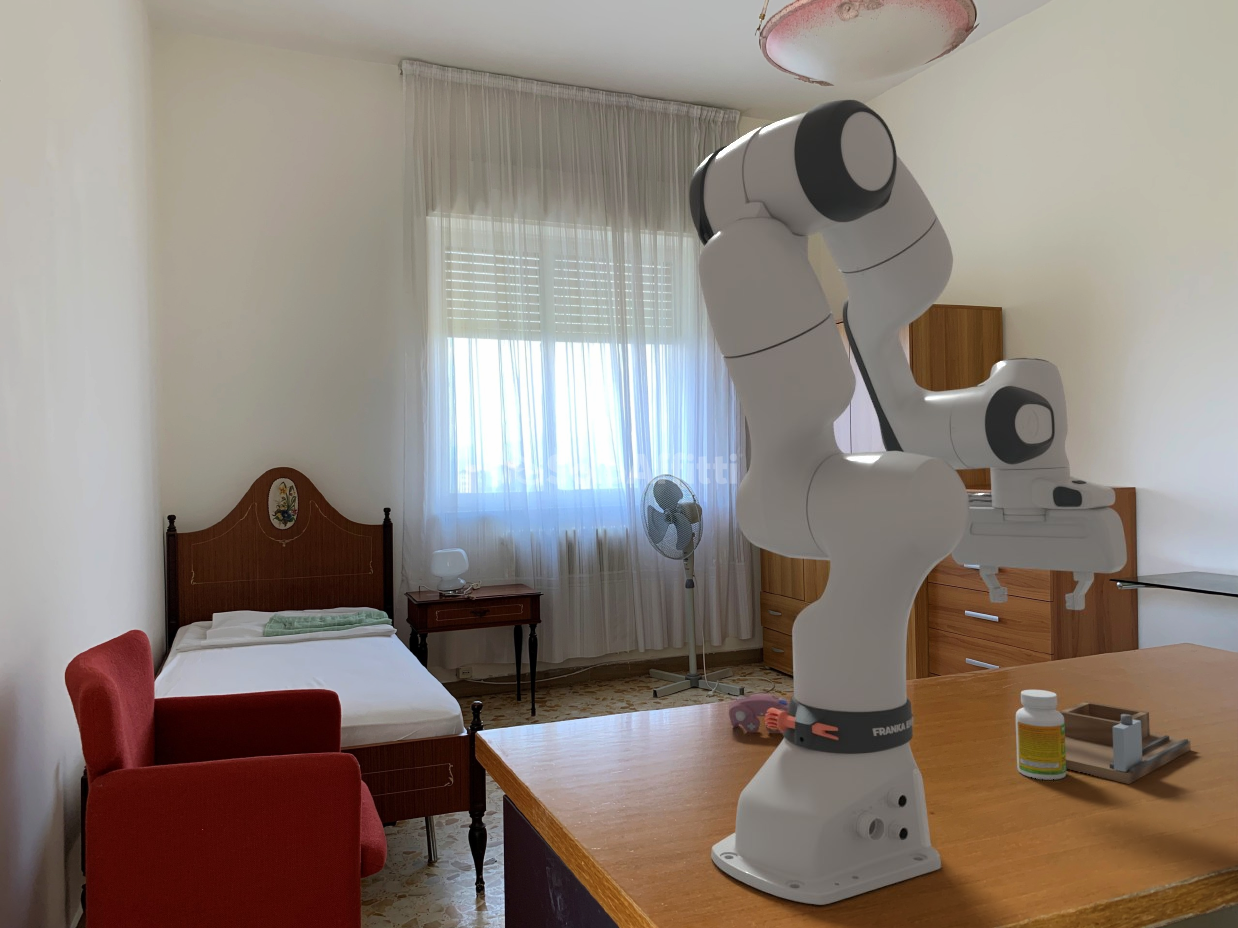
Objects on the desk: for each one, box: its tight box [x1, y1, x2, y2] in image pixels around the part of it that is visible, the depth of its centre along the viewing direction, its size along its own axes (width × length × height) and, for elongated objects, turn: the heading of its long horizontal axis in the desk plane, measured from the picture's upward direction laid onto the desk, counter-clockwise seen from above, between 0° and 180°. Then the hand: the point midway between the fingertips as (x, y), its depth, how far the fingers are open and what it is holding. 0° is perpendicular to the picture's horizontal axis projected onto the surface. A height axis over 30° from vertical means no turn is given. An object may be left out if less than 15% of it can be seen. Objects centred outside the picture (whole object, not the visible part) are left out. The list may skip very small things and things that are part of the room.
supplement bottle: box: [1015, 689, 1067, 781], centre depth 107 cm, size 5×5×10 cm
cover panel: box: [1112, 714, 1142, 772], centre depth 105 cm, size 5×1×6 cm, turn 129°
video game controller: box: [728, 693, 790, 734], centre depth 128 cm, size 10×5×7 cm, turn 76°
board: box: [1059, 701, 1192, 785], centre depth 114 cm, size 19×13×4 cm
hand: (1035, 605), depth 108 cm, fingers open, 8 cm apart
